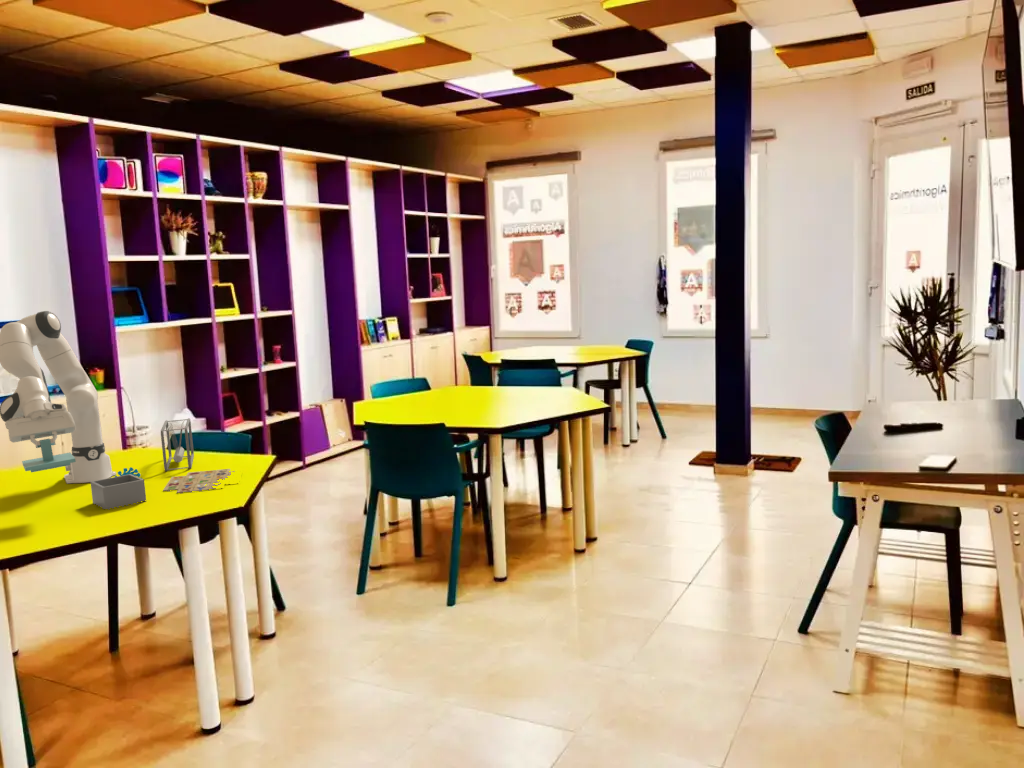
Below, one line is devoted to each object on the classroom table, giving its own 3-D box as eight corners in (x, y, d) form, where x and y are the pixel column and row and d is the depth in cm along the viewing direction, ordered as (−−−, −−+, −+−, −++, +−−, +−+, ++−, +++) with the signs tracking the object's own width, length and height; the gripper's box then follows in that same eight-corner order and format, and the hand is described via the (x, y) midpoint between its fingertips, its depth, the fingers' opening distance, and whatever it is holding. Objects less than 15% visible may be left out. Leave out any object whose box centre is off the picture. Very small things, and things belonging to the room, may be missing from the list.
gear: (108, 487, 323) (118, 465, 329) (114, 495, 328) (124, 472, 334) (135, 490, 322) (146, 468, 328) (141, 498, 327) (151, 476, 333)
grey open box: (92, 503, 307) (90, 481, 306) (133, 495, 316) (130, 474, 315) (105, 509, 296) (102, 487, 295) (146, 501, 306) (143, 479, 305)
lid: (23, 467, 293) (18, 441, 292) (71, 458, 301) (66, 433, 300) (26, 474, 281) (21, 447, 279) (76, 464, 288) (71, 438, 287)
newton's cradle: (191, 469, 356) (187, 427, 353) (164, 472, 352) (160, 430, 350) (194, 455, 384) (190, 417, 381) (169, 458, 381) (165, 419, 378)
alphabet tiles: (160, 496, 313) (160, 493, 313) (173, 476, 345) (173, 473, 345) (238, 488, 320) (238, 485, 320) (244, 469, 352) (244, 466, 352)
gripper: (3, 413, 288) (10, 446, 282) (70, 403, 299) (78, 434, 292) (5, 425, 293) (11, 457, 286) (70, 414, 303) (78, 445, 297)
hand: (45, 445), depth 289 cm, fingers closed on lid, 3 cm apart
